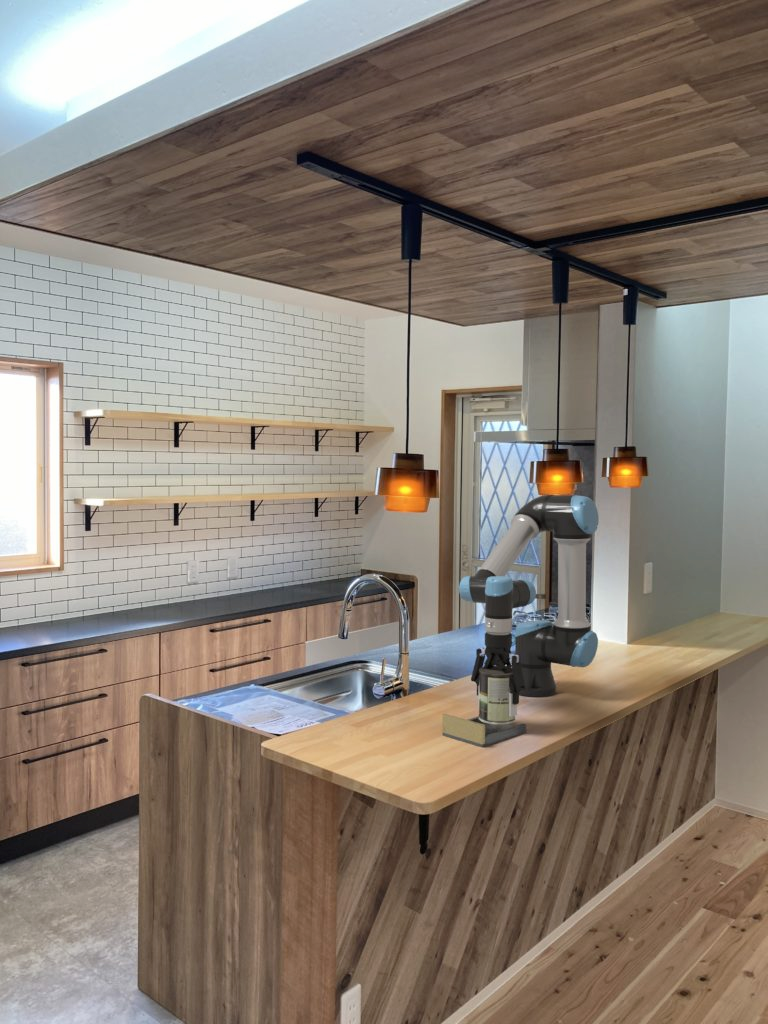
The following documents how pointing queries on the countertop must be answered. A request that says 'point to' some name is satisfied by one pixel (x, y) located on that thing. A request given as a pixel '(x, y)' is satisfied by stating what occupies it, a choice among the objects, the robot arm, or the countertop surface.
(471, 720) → the rail channel
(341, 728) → the countertop surface
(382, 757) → the countertop surface
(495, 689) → the coffee can
